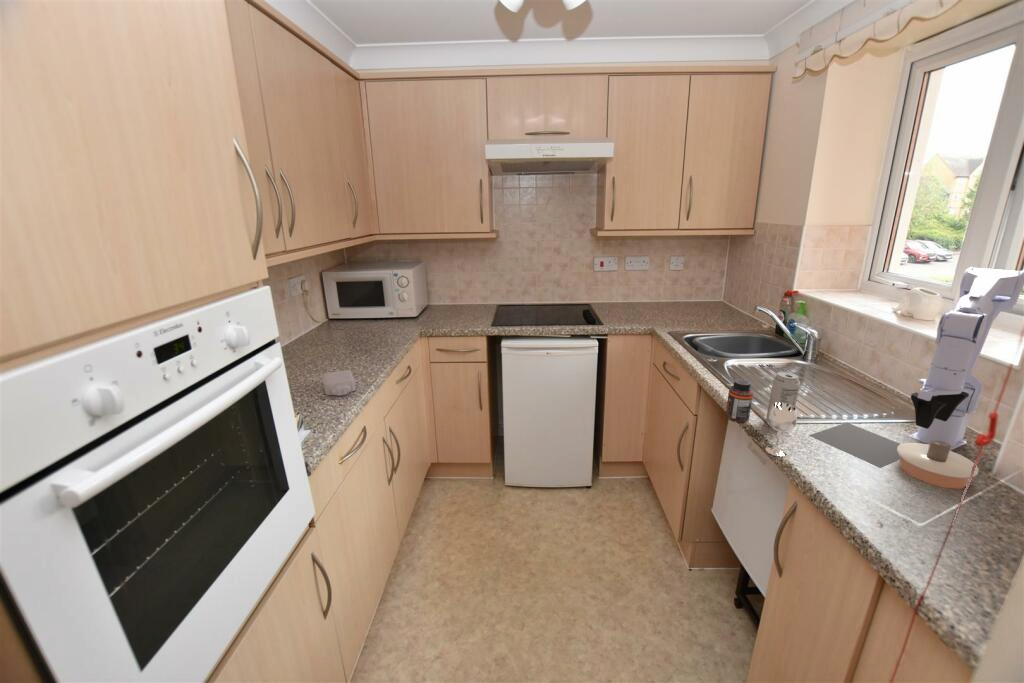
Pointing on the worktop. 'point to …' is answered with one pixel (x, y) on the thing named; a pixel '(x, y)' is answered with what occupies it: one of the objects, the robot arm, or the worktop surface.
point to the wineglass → (781, 423)
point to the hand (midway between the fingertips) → (931, 422)
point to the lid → (937, 459)
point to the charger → (339, 382)
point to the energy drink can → (784, 390)
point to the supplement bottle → (739, 401)
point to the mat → (860, 444)
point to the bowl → (932, 476)
